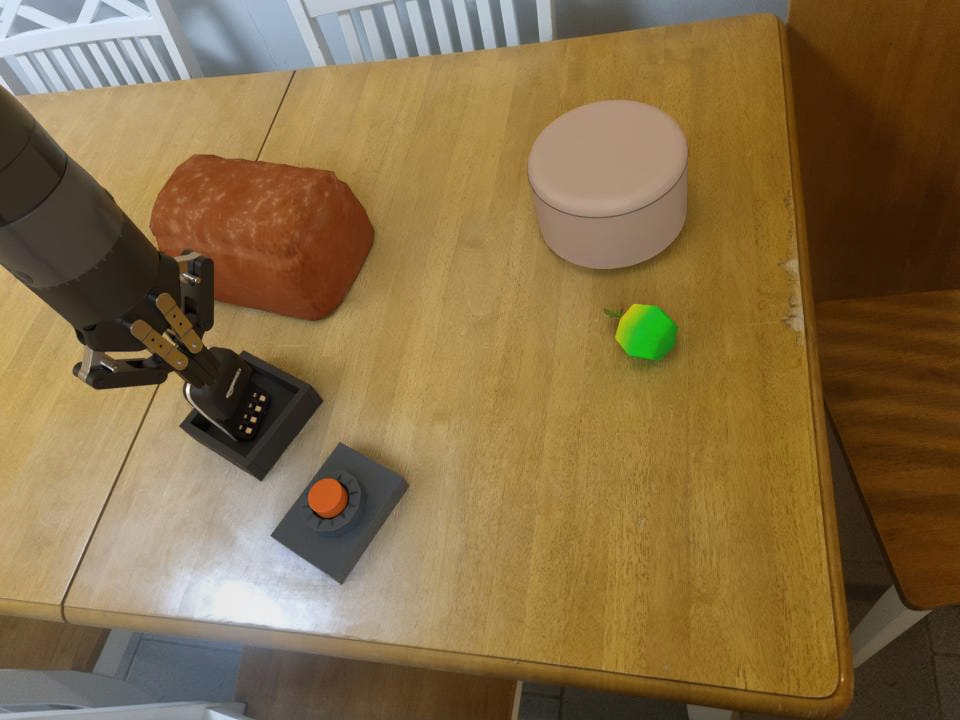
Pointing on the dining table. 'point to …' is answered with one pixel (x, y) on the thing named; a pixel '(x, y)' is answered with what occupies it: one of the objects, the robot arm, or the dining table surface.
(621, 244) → the container
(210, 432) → the dock
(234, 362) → the battery charger
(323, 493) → the power button
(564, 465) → the dining table surface
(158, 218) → the bread
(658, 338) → the apple
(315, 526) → the switch box
